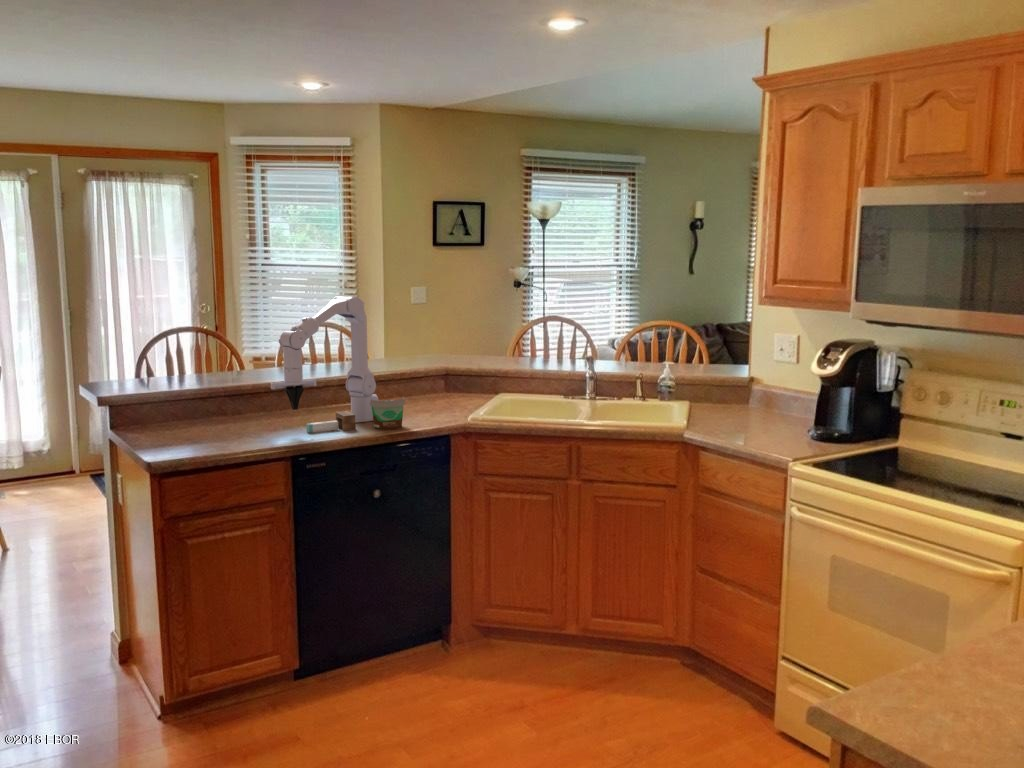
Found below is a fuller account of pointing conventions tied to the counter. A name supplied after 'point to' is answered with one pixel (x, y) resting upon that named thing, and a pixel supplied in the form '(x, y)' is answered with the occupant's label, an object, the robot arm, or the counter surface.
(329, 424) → the white teal bar
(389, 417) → the food container
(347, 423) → the angled brown block
